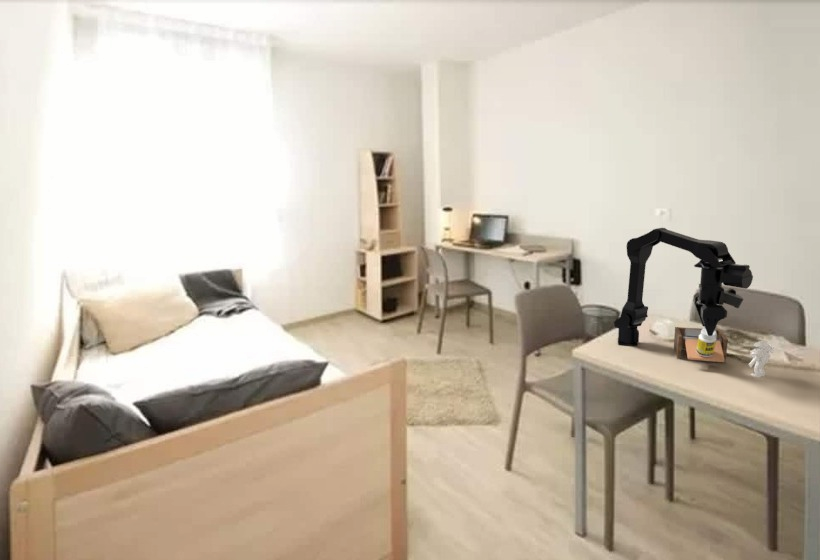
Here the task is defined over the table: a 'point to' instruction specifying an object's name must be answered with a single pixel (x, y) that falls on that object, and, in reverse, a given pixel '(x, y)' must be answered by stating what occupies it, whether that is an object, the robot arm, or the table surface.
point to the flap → (691, 346)
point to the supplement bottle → (706, 344)
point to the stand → (680, 344)
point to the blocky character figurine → (760, 358)
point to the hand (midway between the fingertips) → (707, 330)
